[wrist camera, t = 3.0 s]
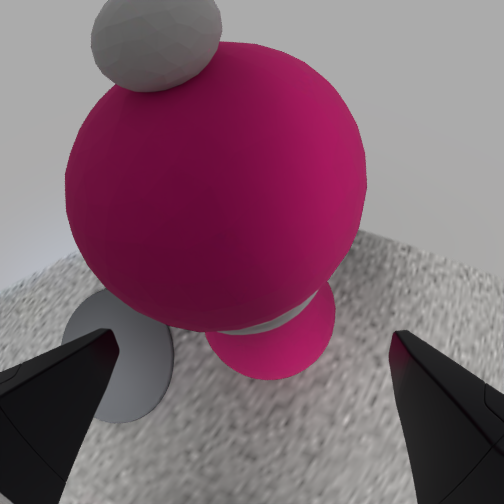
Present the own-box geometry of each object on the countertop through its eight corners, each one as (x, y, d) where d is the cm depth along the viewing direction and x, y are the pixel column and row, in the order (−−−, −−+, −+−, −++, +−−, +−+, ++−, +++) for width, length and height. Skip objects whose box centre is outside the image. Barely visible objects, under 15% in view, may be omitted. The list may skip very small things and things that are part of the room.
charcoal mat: (200, 384, 19) (197, 384, 18) (94, 440, 18) (90, 441, 17) (138, 266, 24) (135, 263, 23) (52, 329, 22) (48, 327, 22)
